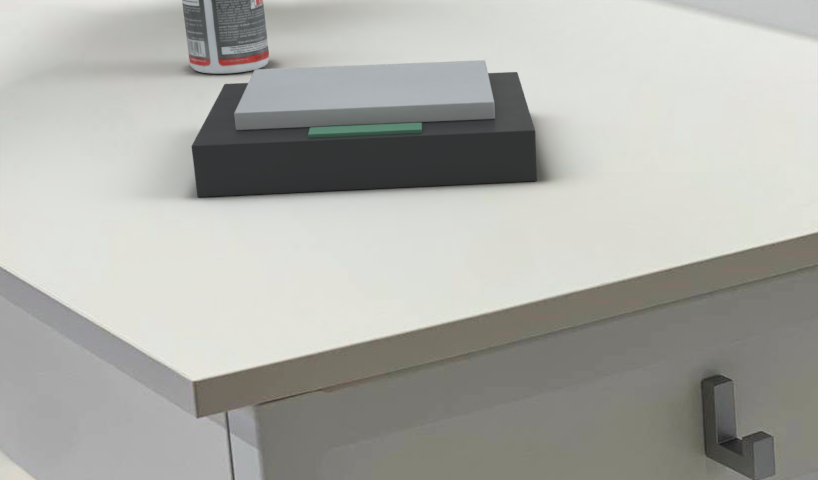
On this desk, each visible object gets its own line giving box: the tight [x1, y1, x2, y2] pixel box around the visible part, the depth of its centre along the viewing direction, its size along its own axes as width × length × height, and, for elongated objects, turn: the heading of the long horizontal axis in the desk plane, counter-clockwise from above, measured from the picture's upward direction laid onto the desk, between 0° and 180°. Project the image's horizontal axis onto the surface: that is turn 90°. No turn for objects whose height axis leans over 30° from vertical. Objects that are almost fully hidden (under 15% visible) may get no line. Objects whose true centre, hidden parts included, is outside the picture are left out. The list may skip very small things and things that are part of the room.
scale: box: [191, 59, 538, 198], centre depth 93 cm, size 18×16×4 cm
